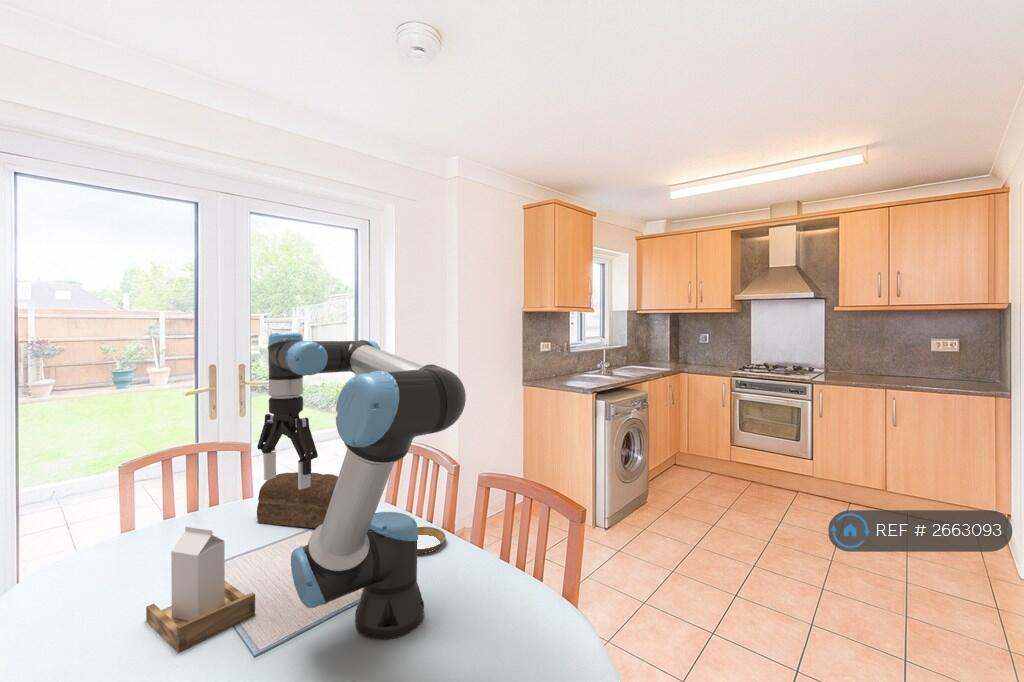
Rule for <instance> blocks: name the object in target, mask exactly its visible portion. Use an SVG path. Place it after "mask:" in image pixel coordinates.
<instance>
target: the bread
mask: <svg viewBox="0 0 1024 682" xmlns="http://www.w3.org/2000/svg"><path fill="white" fill-rule="evenodd" d="M338 476H339V475H335V474H331V473H324V474H322V473H318V472H311V474H310V487H307V488H304V489H301V490H300V489H298V471H297V472H284V473H282V472H281V473H278V474H276V478H272V479H269V480H265V482H263V484H262V485H261V487H260V490H259V491H258V497H257V498H258V499H257V501H258V503H257V507H256V519H257V522H258V523H259V524H261V523H262V524H267V525H268V524H269V525H280V526H291V527H297V528H299V527H300V528H305V529H307V528H308V529H316V528H317V527H318V526H320V525H321V524H323V522H324V519H325V516H326V513H327V510H328V507H329V504H330V501H331V498H332V495H333V492H334V489H335V486H336V482H337V479H338Z"/></svg>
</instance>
